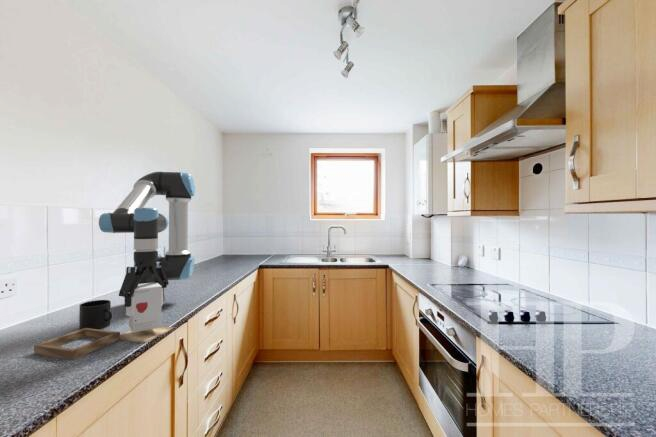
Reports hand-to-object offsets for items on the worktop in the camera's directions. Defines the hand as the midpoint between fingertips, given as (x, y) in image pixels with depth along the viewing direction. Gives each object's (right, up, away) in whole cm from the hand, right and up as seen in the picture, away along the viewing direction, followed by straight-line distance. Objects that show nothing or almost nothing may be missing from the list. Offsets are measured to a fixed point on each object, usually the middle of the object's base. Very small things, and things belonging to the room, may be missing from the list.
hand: (145, 310), depth 109 cm
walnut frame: (-15, -8, -11) cm, 20 cm away
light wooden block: (0, -9, 0) cm, 9 cm away
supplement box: (0, -6, 0) cm, 6 cm away
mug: (-22, -9, +7) cm, 25 cm away
